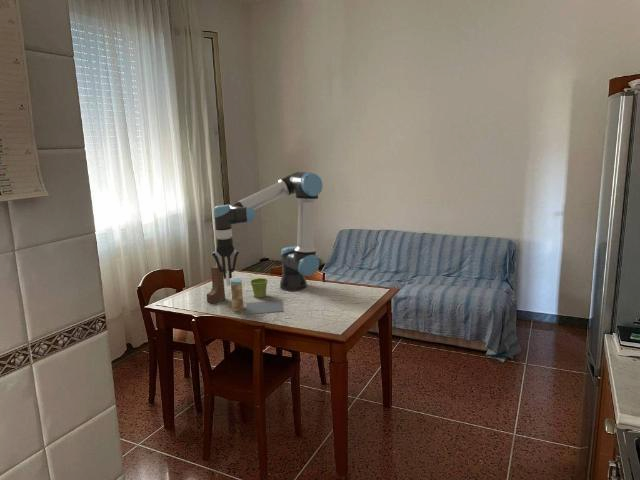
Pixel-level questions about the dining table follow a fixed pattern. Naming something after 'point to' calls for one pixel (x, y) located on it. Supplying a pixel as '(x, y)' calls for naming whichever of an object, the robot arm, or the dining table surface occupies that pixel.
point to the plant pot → (259, 287)
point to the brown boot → (216, 286)
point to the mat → (264, 307)
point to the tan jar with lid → (237, 295)
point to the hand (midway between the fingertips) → (228, 284)
